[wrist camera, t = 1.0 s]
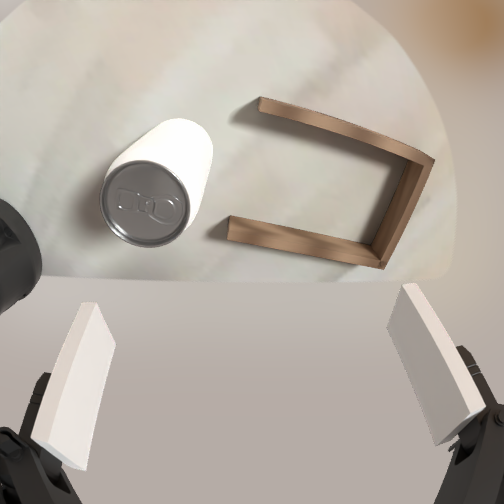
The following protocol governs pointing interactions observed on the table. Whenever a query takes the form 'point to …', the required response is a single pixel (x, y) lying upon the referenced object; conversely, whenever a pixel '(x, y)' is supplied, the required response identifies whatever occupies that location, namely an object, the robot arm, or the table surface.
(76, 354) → the robot arm
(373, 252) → the open wooden frame
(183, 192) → the can
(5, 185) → the table surface
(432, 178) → the table surface
